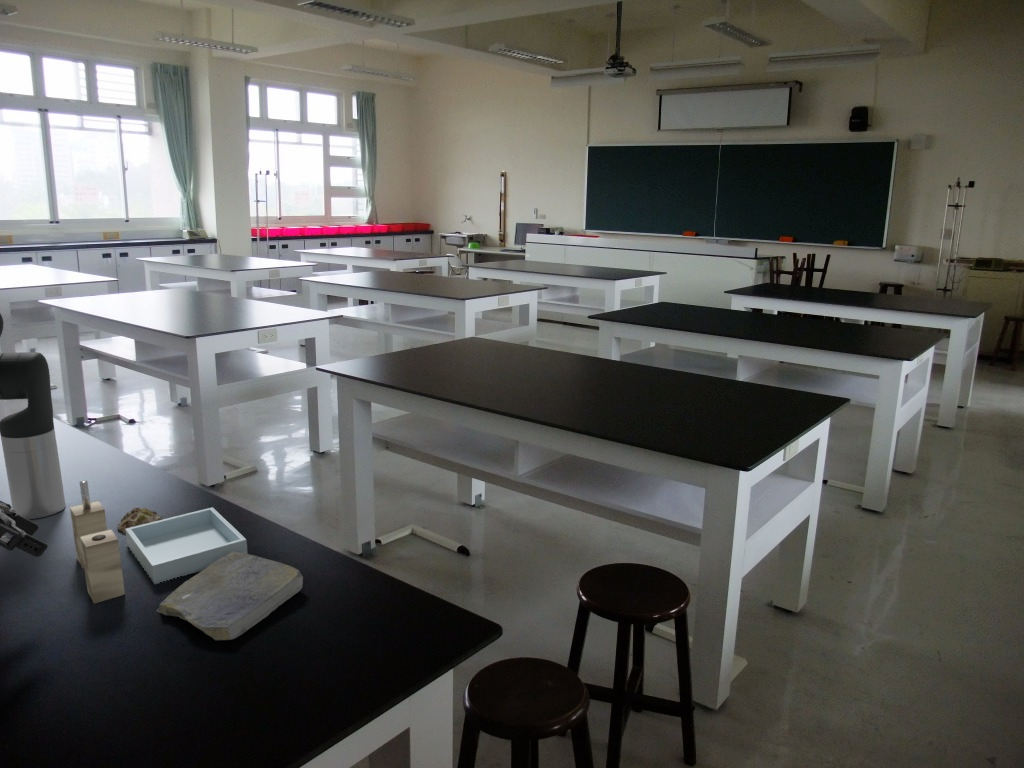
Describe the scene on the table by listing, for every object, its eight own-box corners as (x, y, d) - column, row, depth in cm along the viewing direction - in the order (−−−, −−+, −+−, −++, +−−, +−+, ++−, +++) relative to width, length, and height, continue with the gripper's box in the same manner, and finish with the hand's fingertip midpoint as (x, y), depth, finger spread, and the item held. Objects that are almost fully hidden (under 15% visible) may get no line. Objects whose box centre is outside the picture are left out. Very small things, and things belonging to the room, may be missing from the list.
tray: (127, 545, 141) (125, 528, 140) (214, 523, 151) (212, 507, 150) (154, 584, 128) (152, 565, 127) (247, 557, 138) (246, 539, 137)
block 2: (87, 591, 125) (79, 536, 123) (118, 583, 128) (110, 528, 126) (94, 603, 122) (86, 546, 119) (124, 594, 125) (117, 538, 122)
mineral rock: (108, 514, 150) (149, 494, 154) (117, 531, 152) (157, 512, 156) (122, 535, 142) (164, 514, 146) (131, 553, 144) (172, 532, 148)
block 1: (77, 558, 136) (66, 480, 133) (105, 551, 139) (95, 475, 135) (82, 568, 133) (71, 489, 129) (111, 560, 136) (101, 482, 132)
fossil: (140, 627, 118) (223, 649, 111) (136, 600, 117) (220, 620, 110) (235, 573, 136) (312, 589, 128) (232, 550, 135) (309, 564, 128)
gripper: (-43, 482, 103) (65, 537, 113) (-51, 454, 113) (48, 506, 123) (-84, 529, 101) (28, 580, 111) (-89, 495, 111) (15, 544, 121)
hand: (39, 541), depth 117 cm, fingers open, 8 cm apart
